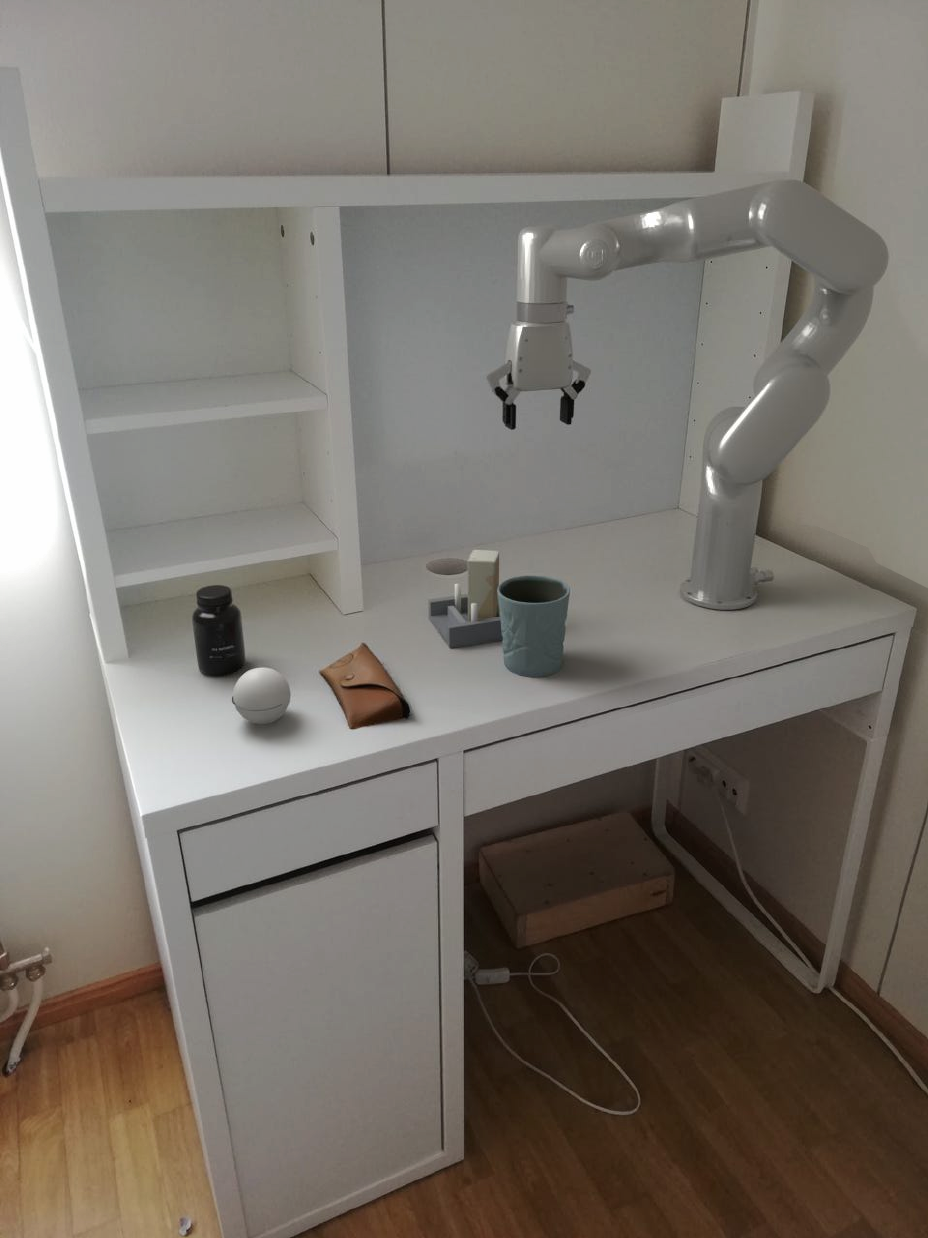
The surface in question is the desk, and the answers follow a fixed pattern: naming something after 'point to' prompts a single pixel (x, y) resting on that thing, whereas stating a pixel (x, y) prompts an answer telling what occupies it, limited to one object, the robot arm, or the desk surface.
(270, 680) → the white ball
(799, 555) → the desk surface
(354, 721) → the sunglasses case
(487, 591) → the box
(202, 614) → the supplement bottle
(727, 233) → the robot arm
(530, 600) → the teal embossed cup
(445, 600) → the tray
